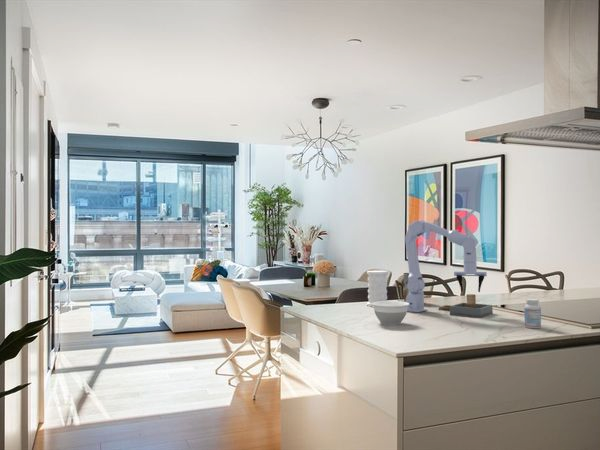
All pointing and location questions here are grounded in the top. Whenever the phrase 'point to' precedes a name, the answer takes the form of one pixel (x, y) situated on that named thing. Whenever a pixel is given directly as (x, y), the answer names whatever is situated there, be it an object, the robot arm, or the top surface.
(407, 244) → the robot arm
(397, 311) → the bowl
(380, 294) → the decorative container
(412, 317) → the top surface
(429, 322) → the top surface
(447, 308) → the collar holder
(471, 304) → the dowel
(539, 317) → the pill bottle
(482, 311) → the tray
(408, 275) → the coffee box
